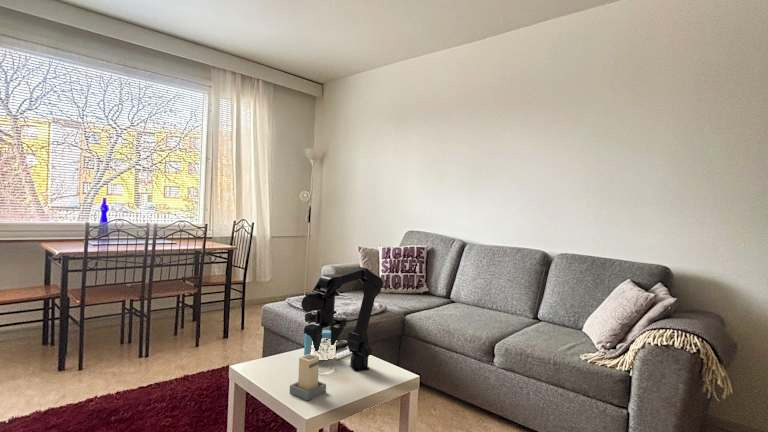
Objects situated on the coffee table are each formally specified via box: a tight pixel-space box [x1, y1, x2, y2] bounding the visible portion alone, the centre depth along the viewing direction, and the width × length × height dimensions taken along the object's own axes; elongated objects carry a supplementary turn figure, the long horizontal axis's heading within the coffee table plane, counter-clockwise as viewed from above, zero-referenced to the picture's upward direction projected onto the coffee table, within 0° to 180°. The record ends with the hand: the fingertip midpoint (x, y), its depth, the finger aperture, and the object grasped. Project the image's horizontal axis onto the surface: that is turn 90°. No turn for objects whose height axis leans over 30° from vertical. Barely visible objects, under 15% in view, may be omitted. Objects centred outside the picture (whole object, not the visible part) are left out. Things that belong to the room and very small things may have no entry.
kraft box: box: [297, 354, 320, 392], centre depth 155 cm, size 5×5×13 cm
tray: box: [289, 380, 327, 402], centre depth 156 cm, size 9×9×3 cm
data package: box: [303, 329, 331, 356], centre depth 189 cm, size 12×4×12 cm, turn 105°
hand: (324, 347), depth 166 cm, fingers open, 9 cm apart
